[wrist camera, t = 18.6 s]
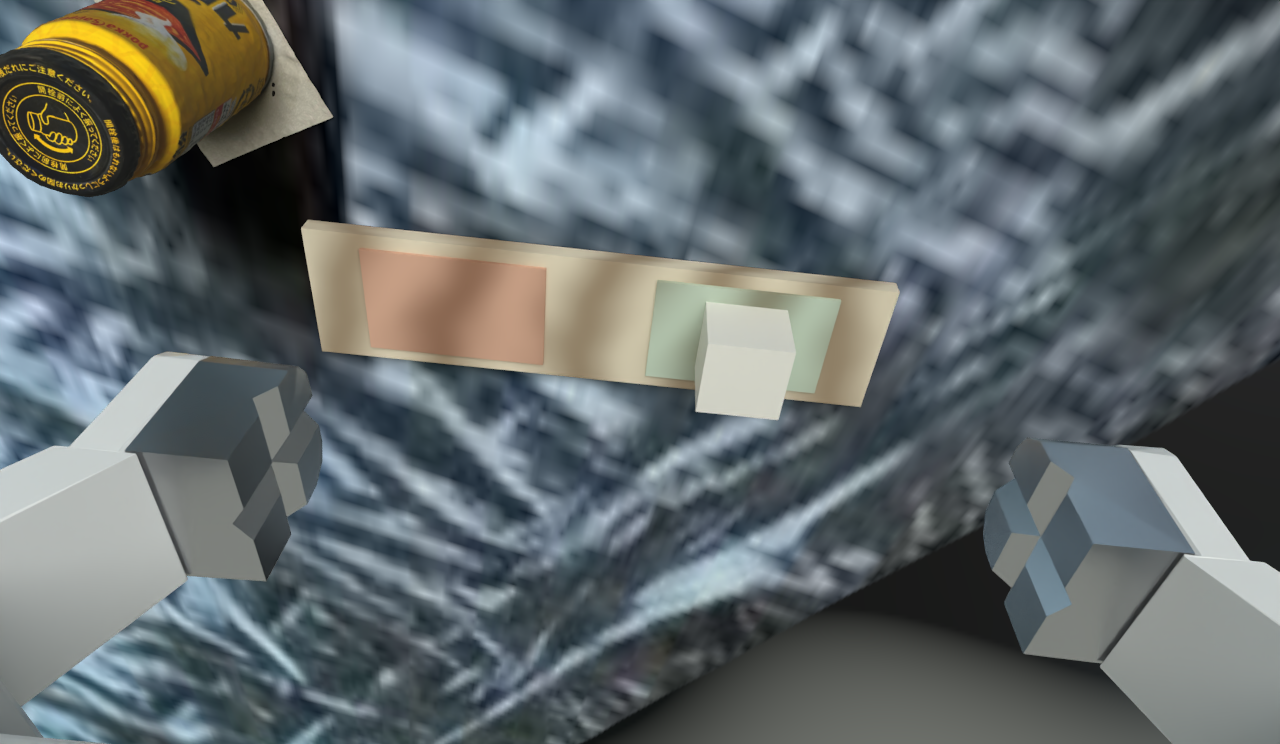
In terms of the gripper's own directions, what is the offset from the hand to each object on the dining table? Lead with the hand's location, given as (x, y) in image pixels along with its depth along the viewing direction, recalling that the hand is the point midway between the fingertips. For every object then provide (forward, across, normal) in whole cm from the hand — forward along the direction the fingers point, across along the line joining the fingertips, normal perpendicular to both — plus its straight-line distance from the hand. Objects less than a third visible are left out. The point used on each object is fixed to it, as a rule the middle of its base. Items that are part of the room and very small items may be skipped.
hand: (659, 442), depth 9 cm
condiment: (+32, +22, +7) cm, 39 cm away
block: (+30, -5, +19) cm, 36 cm away
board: (+31, +3, +19) cm, 37 cm away
